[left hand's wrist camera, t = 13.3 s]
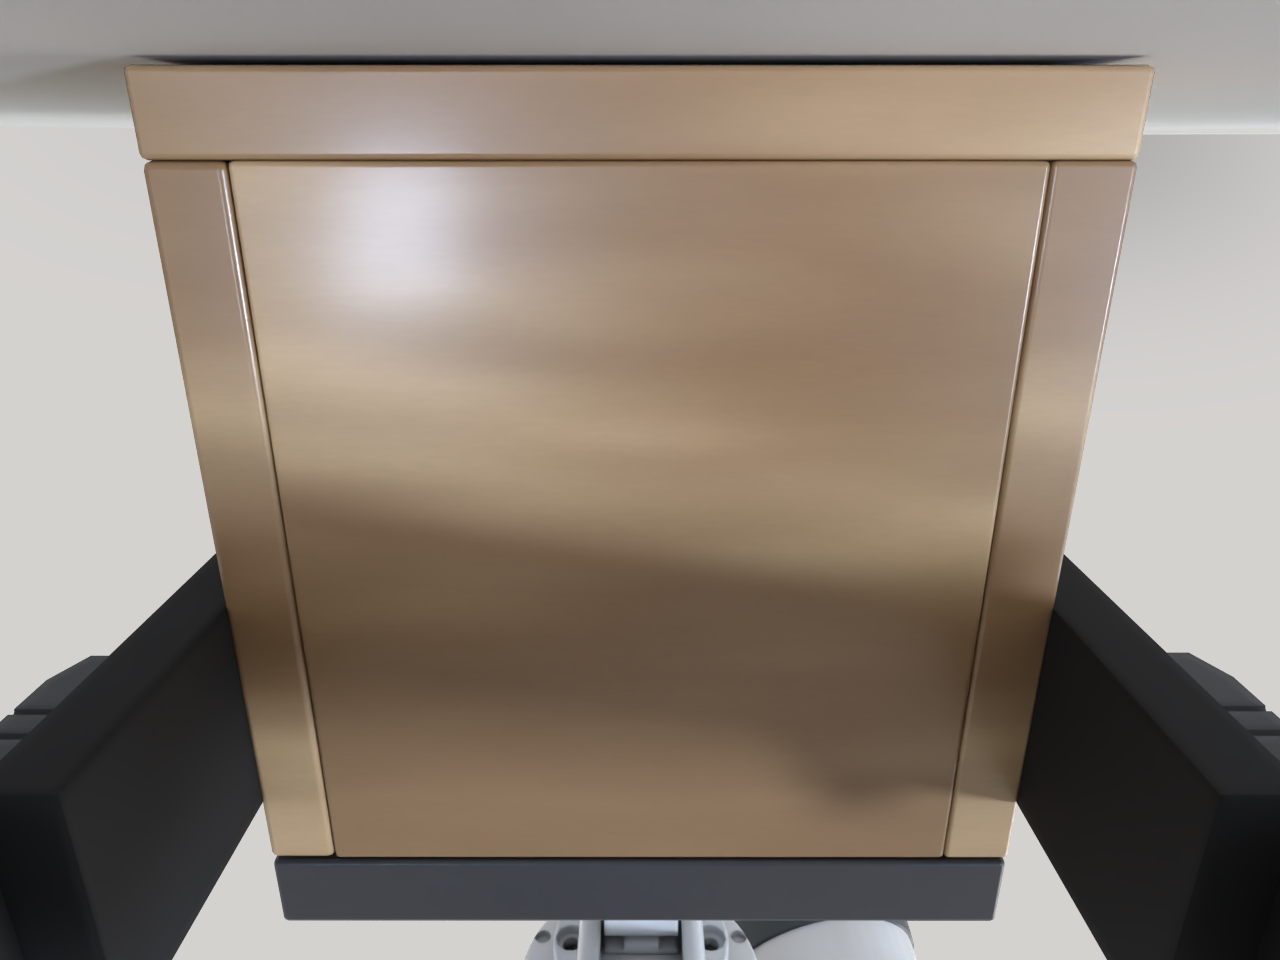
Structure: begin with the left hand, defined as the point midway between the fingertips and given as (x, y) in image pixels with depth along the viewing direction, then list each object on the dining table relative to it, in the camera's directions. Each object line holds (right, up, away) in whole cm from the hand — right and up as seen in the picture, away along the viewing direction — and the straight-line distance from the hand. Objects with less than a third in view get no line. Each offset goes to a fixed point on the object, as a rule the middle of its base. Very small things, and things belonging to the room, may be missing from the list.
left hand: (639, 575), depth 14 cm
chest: (0, +8, +2) cm, 8 cm away
